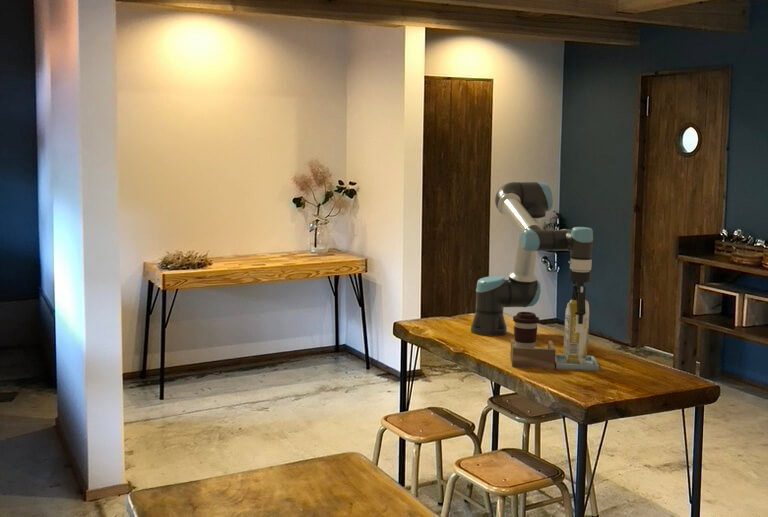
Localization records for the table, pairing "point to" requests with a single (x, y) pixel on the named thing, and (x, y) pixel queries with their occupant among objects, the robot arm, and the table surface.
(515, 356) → the bay
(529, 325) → the coffee cup
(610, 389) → the table surface
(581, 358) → the juice carton
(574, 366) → the tray
